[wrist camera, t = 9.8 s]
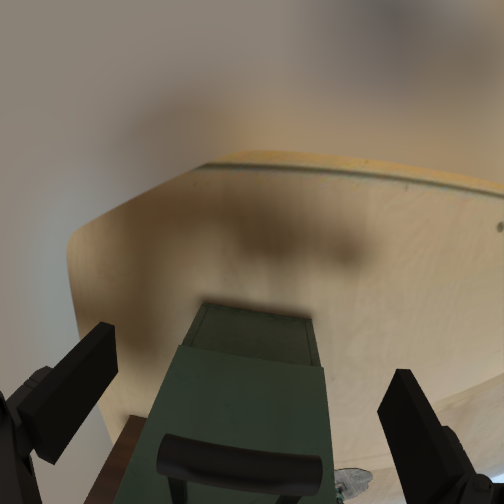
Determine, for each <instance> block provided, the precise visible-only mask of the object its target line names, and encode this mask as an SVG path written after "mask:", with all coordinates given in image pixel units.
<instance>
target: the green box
mask: <svg viewBox="0 0 504 504" xmlns="http://www.w3.org/2000/svg"><path fill="white" fill-rule="evenodd" d="M181 345H183V346H188V347H193V348H198V349H203V350H208V351H213V352H219V353H224V354H230V355H236V356H242V357H248V358H254V359H261V360H267V361H274V362H282V363H289V364H297V365H306V366H315V367H321V363H320V358H319V353H318V348H317V343H316V339H315V334H314V329H313V325H312V320H311V319H304V318H297V317H290V316H283V315H276V314H269V313H263V312H257V311H251V310H244V309H238V308H232V307H227V306H221V305H215V304H210V303H204V302H203V303H202V305H201V307H200V309H199V311H198V313H197V315H196V317H195V319H194V321H193V323H192V324H191V326H190V328H189V330H188V332H187V334H186V336H185V338H184V340H183V342H182V344H181Z"/></svg>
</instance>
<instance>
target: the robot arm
mask: <svg viewBox="0 0 504 504" xmlns="http://www.w3.org/2000/svg"><path fill="white" fill-rule="evenodd" d="M117 373H118V364H117V353H116V340H115V325H112V324H108V323H104V322H100V323H99V324H97V325H96V326H95V327H94V328H93V329H92V330H91V331H90V332H89V333H88V334H87V335H86V336H85V337H84V338H83V339H82V340H81V341H80V342H79V343H78V344H77V345H76V346H75V347H74V348H73V349H72V350H71V351H70V352H69V353H68V354H67V355H66V356H65V357H64V358H63V359H62V360H61V361H60V362H59V363H58V364H57V365H56V366H55V367H54V368H50V367H48V366H45V367H43V368H41V369H39V370H37V371H35V372H34V373H33V375H31V376H30V377H29V379H27V380H26V381H25V382H24V384H23V385H21V386H20V387H19V388H18V389H17V390H16V391H15V392H14V393H13V394H12V395H11V396H10V397H9V398H8V399H7V400H6V401H5V399H4V396H3V394H2V392H1V391H0V504H42V501H41V497H40V493H39V489H38V486H37V481H36V477H35V472H34V467H33V462H32V458H31V456H30V453H31V451H32V450H33V449H35V451H36V453H37V455H38V457H39V458H41V459H43V460H45V461H47V462H49V463H51V464H53V465H55V463H56V462H57V460H58V459H59V457H60V456H61V454H62V453H63V451H64V449H65V448H66V446H67V445H68V444H69V442H70V441H71V439H72V438H73V436H74V434H75V433H76V432H77V430H78V429H79V427H80V426H81V425H82V423H83V422H84V420H85V419H86V417H87V416H88V414H89V413H90V411H91V410H92V408H93V407H94V406H95V404H96V403H97V401H98V400H99V398H100V397H101V396H102V394H103V393H104V391H105V390H106V388H107V387H108V386H109V384H110V383H111V381H112V380H113V379H114V377H115V376H116V374H117ZM377 413H378V416H379V419H380V422H381V424H382V427H383V430H384V433H385V436H386V439H387V442H388V445H389V448H390V451H391V454H392V457H393V460H394V463H395V467H396V470H397V473H398V476H399V479H400V483H401V486H402V489H403V493H404V496H405V499H406V503H407V504H504V483H492V481H491V480H490V478H489V477H487V476H485V475H483V474H477V473H476V472H475V470H474V468H473V466H472V464H471V462H470V460H469V458H468V456H467V454H466V452H465V450H463V447H462V445H461V443H459V442H460V441H459V439H458V437H457V435H456V434H455V432H454V431H453V430H452V429H450V428H449V427H448V426H441V424H440V422H439V420H438V418H437V416H436V414H435V413H434V411H433V409H432V407H431V405H430V403H429V402H428V400H427V398H426V396H425V394H424V393H423V391H422V389H421V387H420V386H419V384H418V382H417V380H416V379H415V377H414V375H413V373H412V372H411V370H410V369H396V371H395V374H394V376H393V378H392V381H391V383H390V385H389V387H388V389H387V392H386V394H385V396H384V398H383V400H382V402H381V404H380V406H379V408H378V410H377Z"/></svg>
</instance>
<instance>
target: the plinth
mask: <svg viewBox="0 0 504 504" xmlns="http://www.w3.org/2000/svg"><path fill="white" fill-rule="evenodd" d="M146 420H147V419H146V418H141V417H137V416H132V415H131V416H130V417H129V419H128V421H127V423H126V425H125V427H124V428H123V430H122V432H121V434H120V436H119V438H118V439H117V441H116V443H115V445H114V447H113V449H112V451H111V452H110V454H109V456H108V458H107V460H106V462H105V464H104V466H103V467H102V469H101V471H100V473H99V475H98V477H97V479H96V481H95V483H94V485H93V487H92V488H91V490H90V492H89V494H88V496H87V498H86V500H85V502H84V504H113V502H114V500H115V497H116V495H117V492H118V490H119V487H120V484H121V482H122V479H123V477H124V474H125V472H126V469H127V467H128V464H129V462H130V459H131V457H132V454H133V452H134V450H135V447H136V445H137V442H138V440H139V437H140V435H141V432H142V430H143V428H144V425H145V423H146Z"/></svg>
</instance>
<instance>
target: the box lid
mask: <svg viewBox="0 0 504 504" xmlns="http://www.w3.org/2000/svg"><path fill="white" fill-rule="evenodd" d="M113 504H336V489H335V475H334V462H333V450H332V439H331V429H330V419H329V410H328V401H327V392H326V384H325V375H324V368H323V367H315V366H306V365H297V364H289V363H282V362H274V361H267V360H261V359H254V358H248V357H242V356H236V355H230V354H224V353H219V352H213V351H208V350H203V349H198V348H193V347H188V346H183V345H179V346H178V348H177V351H176V353H175V355H174V357H173V360H172V362H171V364H170V367H169V369H168V371H167V373H166V376H165V378H164V380H163V383H162V385H161V387H160V390H159V392H158V394H157V397H156V399H155V401H154V404H153V406H152V409H151V411H150V413H149V416H148V418H147V420H146V423H145V425H144V428H143V430H142V432H141V435H140V437H139V440H138V442H137V445H136V447H135V450H134V452H133V454H132V457H131V459H130V462H129V464H128V467H127V469H126V472H125V474H124V477H123V479H122V482H121V484H120V487H119V490H118V492H117V495H116V497H115V500H114V502H113Z"/></svg>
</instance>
